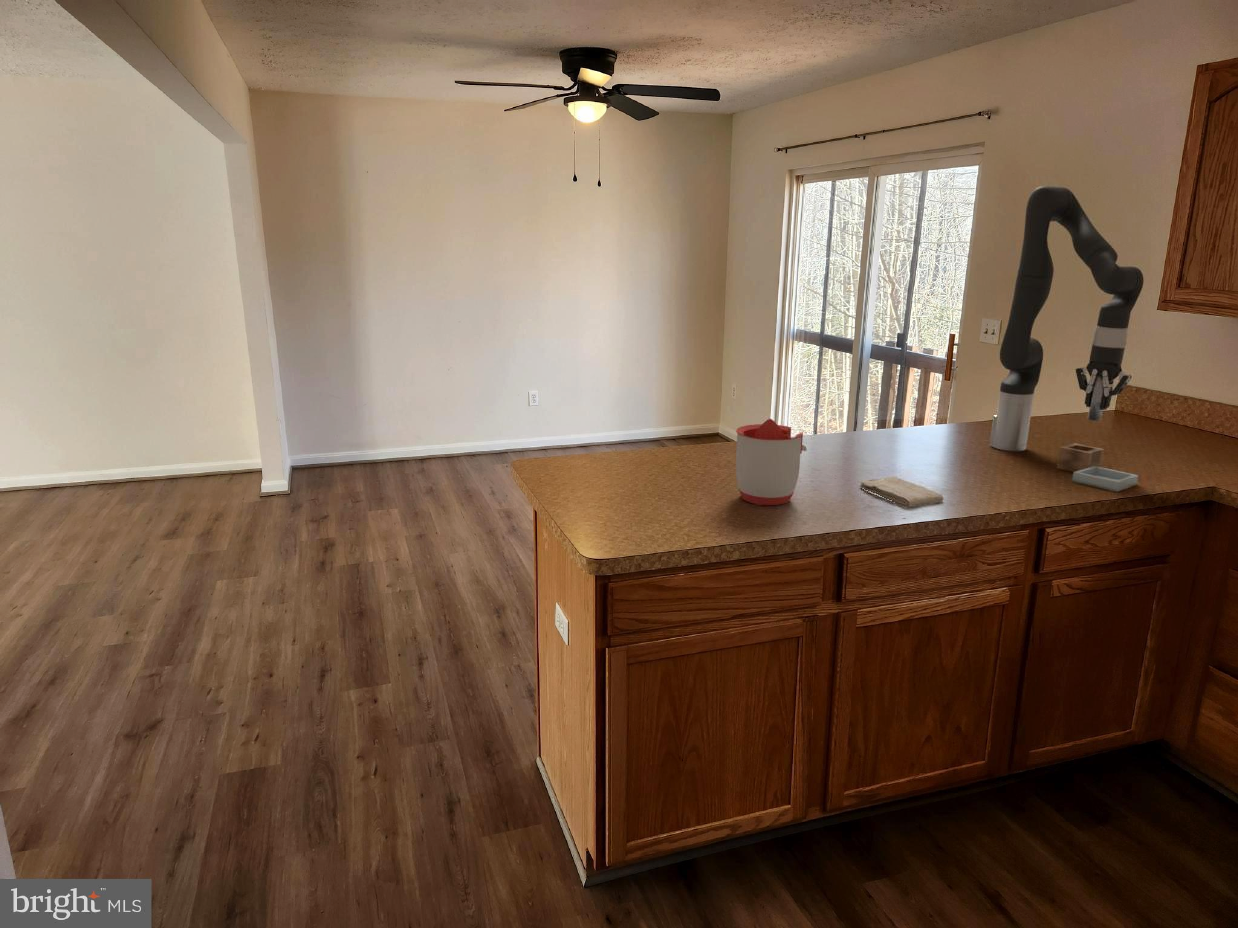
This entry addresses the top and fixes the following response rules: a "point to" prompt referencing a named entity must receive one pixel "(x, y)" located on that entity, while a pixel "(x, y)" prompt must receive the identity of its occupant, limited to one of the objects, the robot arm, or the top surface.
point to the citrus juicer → (767, 462)
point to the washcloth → (902, 491)
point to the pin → (1096, 400)
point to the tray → (1105, 478)
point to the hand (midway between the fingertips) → (1096, 407)
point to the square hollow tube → (1079, 457)
